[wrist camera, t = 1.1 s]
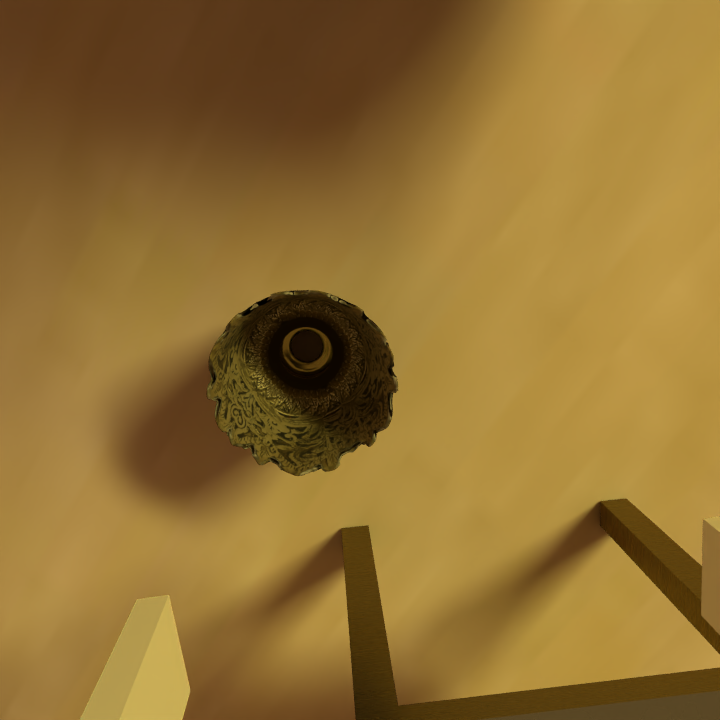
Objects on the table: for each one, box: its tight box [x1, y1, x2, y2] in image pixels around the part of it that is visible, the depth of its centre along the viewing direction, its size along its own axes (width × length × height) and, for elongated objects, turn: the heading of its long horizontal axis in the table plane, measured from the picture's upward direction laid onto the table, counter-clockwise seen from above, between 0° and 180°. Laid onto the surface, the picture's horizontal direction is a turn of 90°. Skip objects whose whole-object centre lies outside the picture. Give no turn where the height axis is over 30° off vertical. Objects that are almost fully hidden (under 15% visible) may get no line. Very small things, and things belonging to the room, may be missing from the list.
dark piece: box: [207, 290, 398, 476], centre depth 28 cm, size 8×7×8 cm
